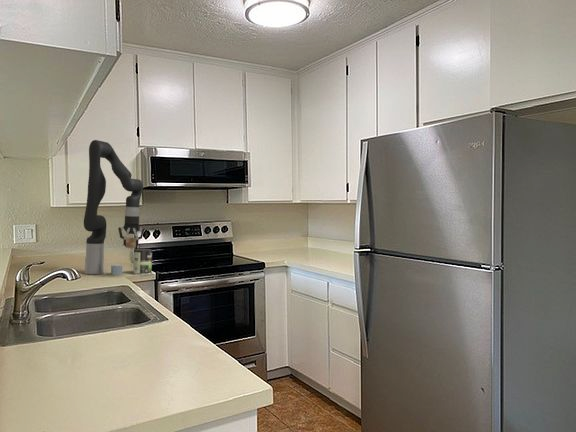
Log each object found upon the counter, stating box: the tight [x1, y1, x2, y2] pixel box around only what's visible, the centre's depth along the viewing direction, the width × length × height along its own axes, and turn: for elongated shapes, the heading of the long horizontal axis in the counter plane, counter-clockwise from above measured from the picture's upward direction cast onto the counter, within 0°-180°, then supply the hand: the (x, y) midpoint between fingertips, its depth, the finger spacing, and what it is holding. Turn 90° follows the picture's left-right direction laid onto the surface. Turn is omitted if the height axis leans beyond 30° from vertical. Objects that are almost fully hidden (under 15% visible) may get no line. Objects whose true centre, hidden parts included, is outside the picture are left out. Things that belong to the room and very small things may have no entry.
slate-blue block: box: [110, 264, 123, 276], centre depth 245 cm, size 5×5×5 cm
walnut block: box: [125, 237, 137, 249], centre depth 235 cm, size 5×5×5 cm
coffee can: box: [132, 248, 153, 276], centre depth 249 cm, size 10×10×14 cm
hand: (130, 246), depth 235 cm, fingers closed on walnut block, 5 cm apart
